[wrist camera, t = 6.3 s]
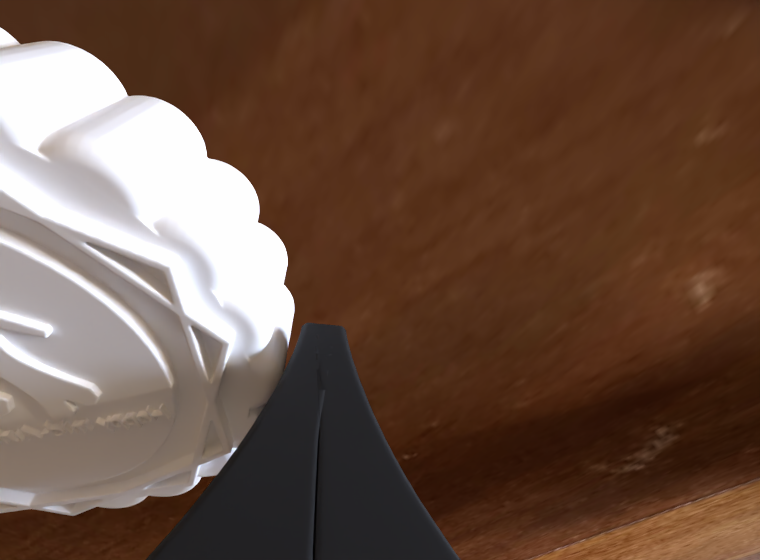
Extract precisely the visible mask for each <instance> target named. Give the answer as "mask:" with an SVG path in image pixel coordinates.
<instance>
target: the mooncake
mask: <svg viewBox="0 0 760 560" xmlns="http://www.w3.org/2000/svg"><path fill="white" fill-rule="evenodd" d="M258 217H259V202H258V197H257V195H256V192H255V190H254V188H253V186H252V185H251V183H250V182H249V181H248V179H247V178H246V177H245V176H244V175H243V174H242V173H241V172H239V171H238V170H237V169H235V168H234V167H232V166H231V165H228V164H226V163H224V162H221V161H218V160H214V159H209V158H207V152H206V148H205V144H204V141H203V139H202V136H201V134H200V133H199V131H198V129H197V128H196V126H195V125H194V124H193V123H192V121H191V120H190V119H189V118H188V117H187V116H186V115H185V114H184V113H183V112H181V111H180V110H179V109H177V108H176V107H174V106H173V105H171V104H169V103H167V102H165V101H163V100H160V99H157V98H154V97H148V96H128V95H127V93H126V91H125V89H124V87H123V86H122V84H121V83H120V81H119V80H118V78H117V77H116V76H115V75H114V74H113V72H112V71H111V70H110V69H109V68H108V67H107V66H106V65H104V64H103V63H102V62H101V61H100V60H98V59H97V58H96V57H94V56H93V55H91V54H90V53H88V52H86V51H84V50H82V49H80V48H78V47H75V46H73V45H70V44H66V43H61V42H56V41H40V42H34V43H28V44H22V45H21V44H20V43H19V42H18V41H17V40H15V39H14V38H13V37H12V36H11V35H10V34H9V33H7V32H6V31H5V30H3V29H2V28H0V513H5V512H12V511H20V510H27V509H35V510H41V511H47V512H53V513H58V514H64V515H70V516H75V515H77V514H80V513H82V512H85V511H87V510H90V509H92V508H95V507H97V506H98V507H103V508H125V507H130V506H133V505H135V504H138V503H140V502H141V501H143V500H144V499H145V498H146V497H147V496H149V495H150V496H158V497H169V496H176V495H180V494H183V493H185V492H187V491H189V490H191V489H192V488H193V487H195V485H196V484H197V483H198V482H199V481H200V479H201V477H209V476H215V475H217V474H218V473H219V472H220V470H221V469H222V468H223V466H224V465H225V464H226V462H227V461H228V460H229V458H230V457H231V456H232V454H233V453H234V451H235V450H236V449H237V447H238V446H239V444H240V443H241V442H242V440H243V439H244V437H245V436H246V434H247V433H248V431H249V430H250V428H251V427H252V425H253V424H254V422H255V420H256V419H257V417H258V416H259V414H260V412H261V411H262V409H263V408H264V406H265V404H266V403H267V401H268V400H269V398H270V396H271V395H272V393H273V391H274V389H275V388H276V386H277V384H278V382H279V380H280V378H281V376H282V374H283V373H284V369H285V363H286V357H287V351H288V345H289V339H290V333H291V327H292V321H293V315H294V301H293V298H292V296H291V294H290V292H289V290H288V289H287V288H286V287H285V286H284V285H283V283H284V279H285V274H286V269H287V264H288V259H287V253H286V249H285V247H284V245H283V243H282V241H281V240H280V238H279V237H278V236H277V235H276V234H275V233H274V232H273V231H272V230H270V229H269V228H268V227H266V226H264V225H262V224H260V223H257V221H258Z"/></svg>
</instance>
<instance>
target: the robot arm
mask: <svg viewBox="0 0 760 560" xmlns="http://www.w3.org/2000/svg"><path fill="white" fill-rule="evenodd" d="M146 560H460V559H459V557H458V556H457V554H456V553H455V552H454V550H453V549H452V547H451V546H450V544H449V543H448V541H447V540H446V538H445V537H444V535H443V534H442V532H441V531H440V529H439V528H438V526H437V525H436V524H435V522H434V521H433V519H432V518H431V516H430V515H429V513H428V512H427V510H426V509H425V507H424V506H423V504H422V503H421V501H420V499H419V498H418V496H417V494H416V493H415V491H414V489H413V488H412V486H411V484H410V483H409V481H408V479H407V478H406V476H405V474H404V472H403V471H402V469H401V467H400V465H399V464H398V462H397V460H396V458H395V456H394V454H393V453H392V451H391V449H390V447H389V445H388V443H387V441H386V439H385V437H384V435H383V433H382V431H381V429H380V427H379V424H378V422H377V420H376V418H375V416H374V414H373V411H372V409H371V407H370V405H369V402H368V400H367V397H366V395H365V392H364V390H363V387H362V385H361V382H360V379H359V377H358V374H357V371H356V368H355V365H354V362H353V359H352V356H351V352H350V349H349V345H348V340H347V336H346V330H345V329H344V328H343V327H342V326H335V325H325V324H314V323H306V324H305V325H303V326H302V329H301V333H300V336H299V339H298V342H297V345H296V347H295V350H294V352H293V354H292V356H291V358H290V361H289V363H288V365H287V367H286V369H285V371H284V373H283V374H282V376H281V378H280V380H279V382H278V384H277V386H276V388H275V389H274V391H273V393H272V395H271V396H270V398H269V400H268V401H267V403H266V404H265V406H264V408H263V409H262V411H261V412H260V414H259V416H258V417H257V419H256V420H255V422H254V424H253V425H252V427H251V428H250V430H249V431H248V433H247V434H246V436H245V437H244V439H243V440H242V442H241V443H240V444H239V446H238V447H237V449H236V450H235V451H234V453H233V454H232V456H231V457H230V458H229V460H228V461H227V462H226V464H225V465H224V466H223V468H222V469H221V470H220V472H219V473H218V474H217V476H216V477H215V478H214V479H213V481H212V482H211V483H210V484H209V486H208V487H207V488H206V490H205V491H204V492H203V493H202V495H201V496H200V497H199V498H198V500H197V501H196V502H195V503H194V505H193V506H192V507H191V508H190V509H189V511H188V512H187V513H186V514H185V515H184V517H183V518H182V519H181V520H180V521H179V523H178V524H177V525H176V526H175V527H174V528H173V529H172V531H171V532H170V533H169V534H168V535H167V536H166V537H165V538H164V540H163V541H162V542H161V543H160V544H159V545H158V546H157V547H156V549H155V550H154V551H153V552H152V553H151V554H150V555H149V557H148V558H147V559H146Z"/></svg>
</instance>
